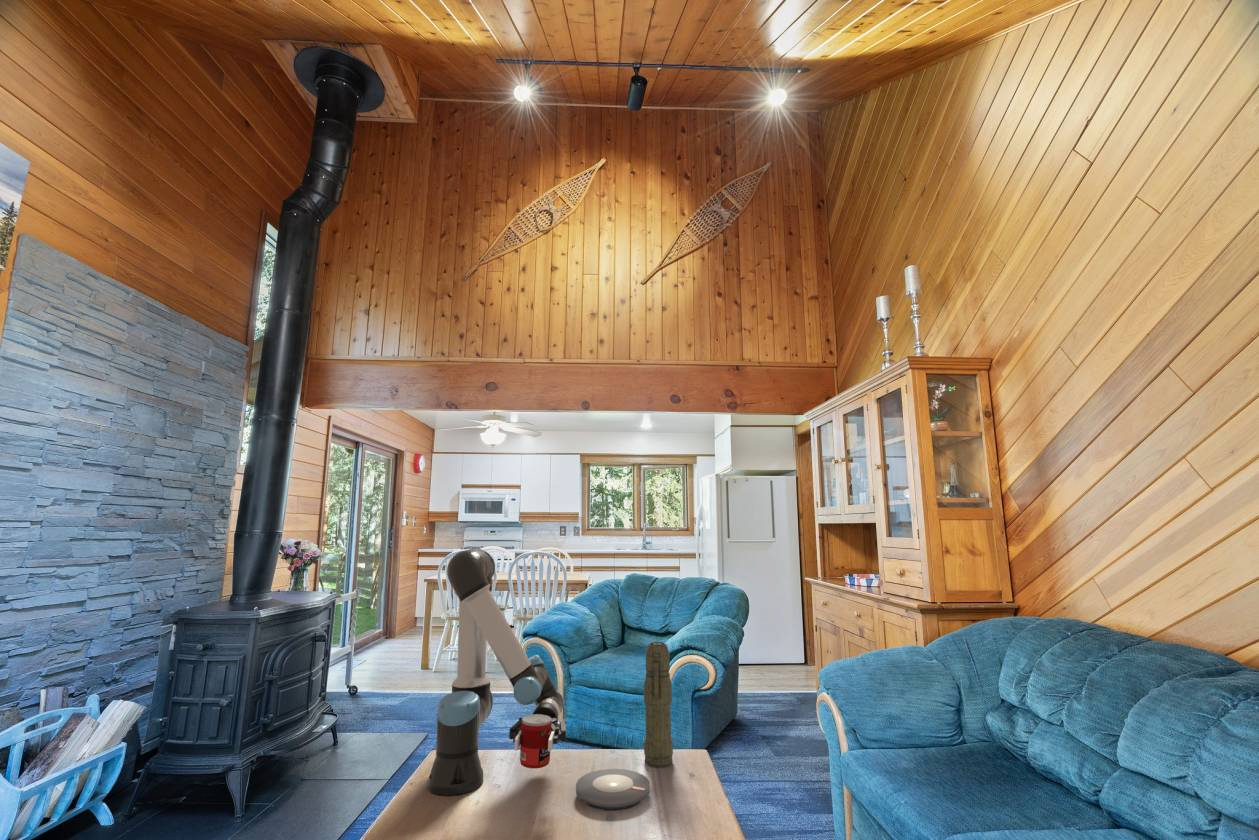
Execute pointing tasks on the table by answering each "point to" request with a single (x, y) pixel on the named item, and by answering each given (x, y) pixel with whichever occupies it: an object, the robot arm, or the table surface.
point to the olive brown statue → (658, 706)
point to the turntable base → (612, 807)
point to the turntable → (612, 787)
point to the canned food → (535, 741)
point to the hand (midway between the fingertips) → (532, 745)
